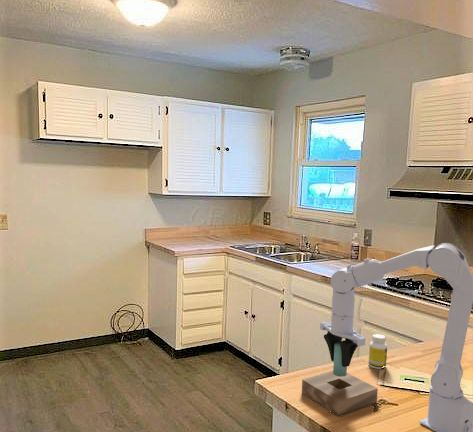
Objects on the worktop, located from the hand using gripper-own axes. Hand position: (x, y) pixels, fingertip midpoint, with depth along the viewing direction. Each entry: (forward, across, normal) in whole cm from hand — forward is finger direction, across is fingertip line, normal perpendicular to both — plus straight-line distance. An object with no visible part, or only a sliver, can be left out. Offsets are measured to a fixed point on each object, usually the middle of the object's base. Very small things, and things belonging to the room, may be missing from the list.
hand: (340, 363), depth 122 cm
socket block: (+10, 0, 0) cm, 10 cm away
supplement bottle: (+10, +9, -26) cm, 29 cm away
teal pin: (+3, 0, 0) cm, 3 cm away
